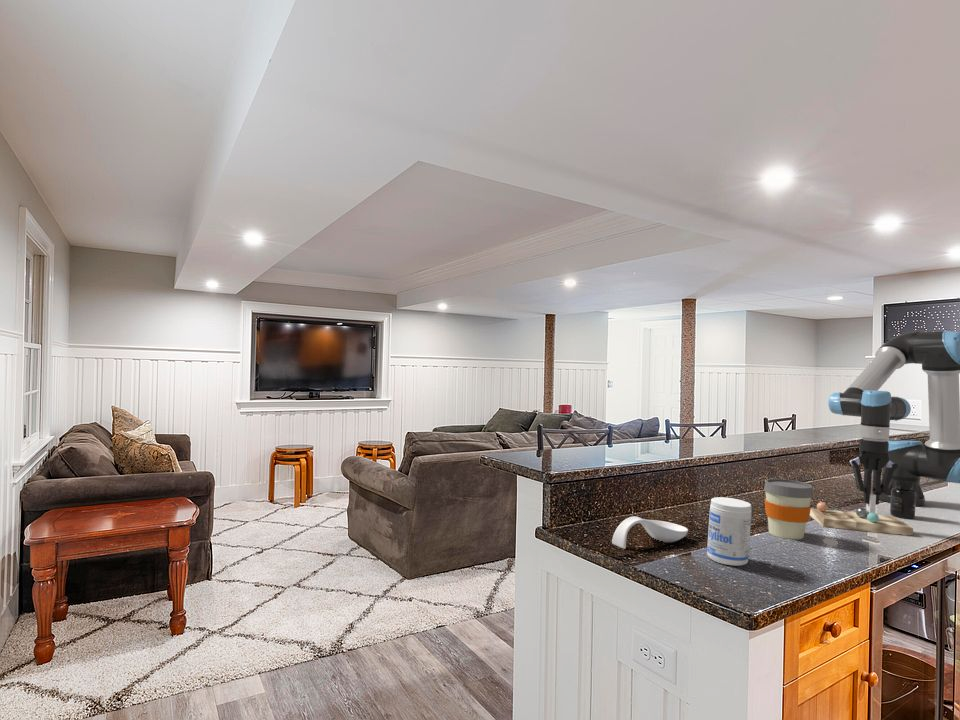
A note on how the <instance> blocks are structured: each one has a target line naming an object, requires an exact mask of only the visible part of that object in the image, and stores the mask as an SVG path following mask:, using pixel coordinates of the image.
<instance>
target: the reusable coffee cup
mask: <svg viewBox="0 0 960 720" xmlns="http://www.w3.org/2000/svg"><path fill="white" fill-rule="evenodd" d="M763 491H764V492H765V498H764V507H765V509H764V510H765V515H766V517H767V524H768V525H767V526H768V532H769V534H771V535H772V536H775V537H777V538H782V539H789V540H802V539H804V537H805V531H806V527H807V523H808V522H809V520H810V517H811V516H810V510H811V508H812V504H811V502H812V498H813V496H814V492H813V485H811V484H809V483H806V482H803V481H798V480H791V479H787V478H786V479H784V478H767V479H765V482H764V488H763Z"/></svg>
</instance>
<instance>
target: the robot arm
mask: <svg viewBox="0 0 960 720" xmlns="http://www.w3.org/2000/svg"><path fill="white" fill-rule="evenodd" d="M874 356H875V357H874V358H873V359H872V360H871V362H870V363H868V364H867V366H866V367H865V368H864V369H863V370H862V372H861V373H860V374H859V375H858V376H857V377H856V378H855V380H853V382H852V383H851V384H850V385H849V386H848V387H847V389H846V390H845V391H844V392H833V393H832V394H830V396H829V398H828V402H827V404H828V409H829V410H830V412H831V413H832V414H834V415H839V416H840V415H841V416H849V417H860V428H859V429H860V430H859V437H860V439H859V446H858V447H859V451H858V454H857V455H856V458H853V459H851V458H850V459H849V460H848V462H849V464H850V465H851V468H852V471H853V476H854V481H855V485H856V489H857V491H860V492H863V503H864V504H865V505H866V507H865V509H866V510H867V511H868V514H869V513H871V512H873V513H876V506H878V505H880V501H883V502H887V503H890V504H891V490H892V489H893V488H895V487H896V486H895V481H896V480H904V481H910V482H913V488H912V490H913V491H915V493H916V506H915V507H922V506H925V505H926V499H925V495H924V493H923V492H924V491H923V489H922V486H921V478H925V479H930V480H935V481H936V480H937V481H941V482H946V483H954V484H960V331H951V330H943V331H942V330H939V331H937V330H933V331H908V332H904V333H901V334H899V335H896V336H894V337H892V338H891V339H889V340H887V341H886V342H884V343H883V344H882V345H881V346H880V347H879V348H878V349H877V350H876V351H875V355H874ZM908 364H918V365H921V370H922V371H923V372H924V373H925V374H927V393H928V394H927V397H928V425H929V426H928V427H929V430H928V431H929V439H928V440H926V441H925V442H924V444H923V442H922V441H921V440H890V426H891V425H890V424H891V423H890V422H891V421H895V422H897V421H900V420H903V419H907V417H909V415H910V414H911V411H912V409H911V404H910V403H909V402H908V400H907V399H905V398H904V397H900V396H892V394H891V392H890V391H887V390H880V389H881V388H882V386H883V385H884V384H885V383H886V382H887V381H888V379H889V378H890V377H891V376H892V375H893V374H894V372H895V371H896V370H899V369H902V368H903V367H904V365H908ZM860 464H861V465H862V466H863V471H864V472H863V477H862V473H861V472H862V471H861V469H860V468H861V467H860Z"/></svg>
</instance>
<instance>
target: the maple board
mask: <svg viewBox="0 0 960 720" xmlns="http://www.w3.org/2000/svg"><path fill="white" fill-rule="evenodd" d="M877 515H878V516H879V520H878V521H877V522H875V523H873V522H870V521H869V520H868V519H867V517H865V518H860V517H859V516H857V514H856V511H844V510H834V509H833V510H831V509H827V510H826V511H824V512H822V511H819V510H818V509H817V508H813V507H811V510H810V516H809V517H811V518H812V519H813V520H814V521H815V522H817V523H818V524H820V525H821V526H822V527H823V528H833V529H841V530H842V529H843V530H852V531H860V532H861V531H862V532H872V533H878V534H888V533H889V534H891V535H897V534H902V535H901V536H907V535H914V527H912V526H911V525H909V524H907V523H905V522H904V521H902V520H900V519H898V517H895V516H893V515H884V514H877Z"/></svg>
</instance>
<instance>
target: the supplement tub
mask: <svg viewBox="0 0 960 720" xmlns="http://www.w3.org/2000/svg"><path fill="white" fill-rule="evenodd" d="M752 511H753V510H752V504H751V503H750V502H747V501H745V500H741V499H737V498H733V497H723V496H719V497H718V496H716V497H711V500H710V507H709V514H708V515H709V517H708V518H709V519H708V531H707V543H706V544H707V546H706V549H707V550H706V555H707V557H708V558H709V559H710V560H712V561H714V562H716V563H719V564H721V565H728V566H731V567H733V566H734V567H736V566H737V567H742V566H745V565H746V564H747V563H748V562H749V558H750V557H749V555H750V542H751V541H750V539H751V527H752V526H751V525H752Z"/></svg>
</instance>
